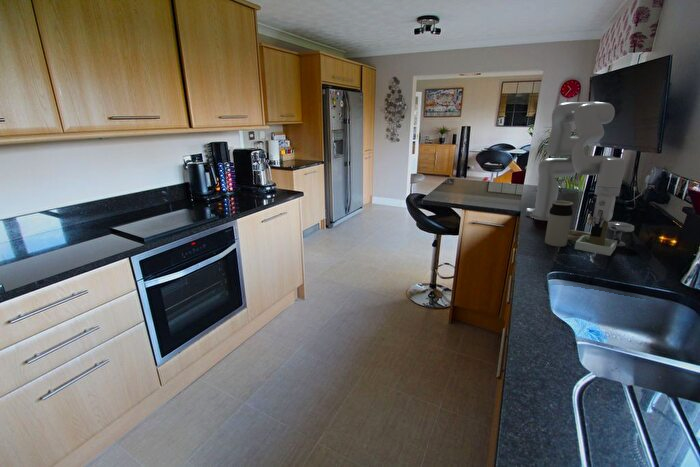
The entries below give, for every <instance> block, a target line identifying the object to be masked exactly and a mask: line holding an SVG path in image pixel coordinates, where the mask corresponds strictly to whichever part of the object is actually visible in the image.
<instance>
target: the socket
mask: <svg viewBox="0 0 700 467" xmlns="http://www.w3.org/2000/svg"><path fill="white" fill-rule="evenodd" d="M590 234H591V232H588V231H580V230H576V229H575V230H574V229H569V235H568V240H567V241H572V242H576V241H577V240H578V239H579V238H580V237H581V236H582V235H587V236H590ZM585 241H586V242H588V241H587V240H586V239H585Z"/></svg>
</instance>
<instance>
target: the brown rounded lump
mask: <svg viewBox="0 0 700 467" xmlns="http://www.w3.org/2000/svg"><path fill="white" fill-rule="evenodd" d="M608 222H609V221H608ZM608 222H606V221H604V222H603V225H602V227H603V228H602V233H601V237H595V236H591V234H590V237H589V240H588V242H587V243H590V244H595V245H601V246H605V239H606V231H607V227H608ZM593 223H594V220H593V221H592V222H591V226H593Z"/></svg>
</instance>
